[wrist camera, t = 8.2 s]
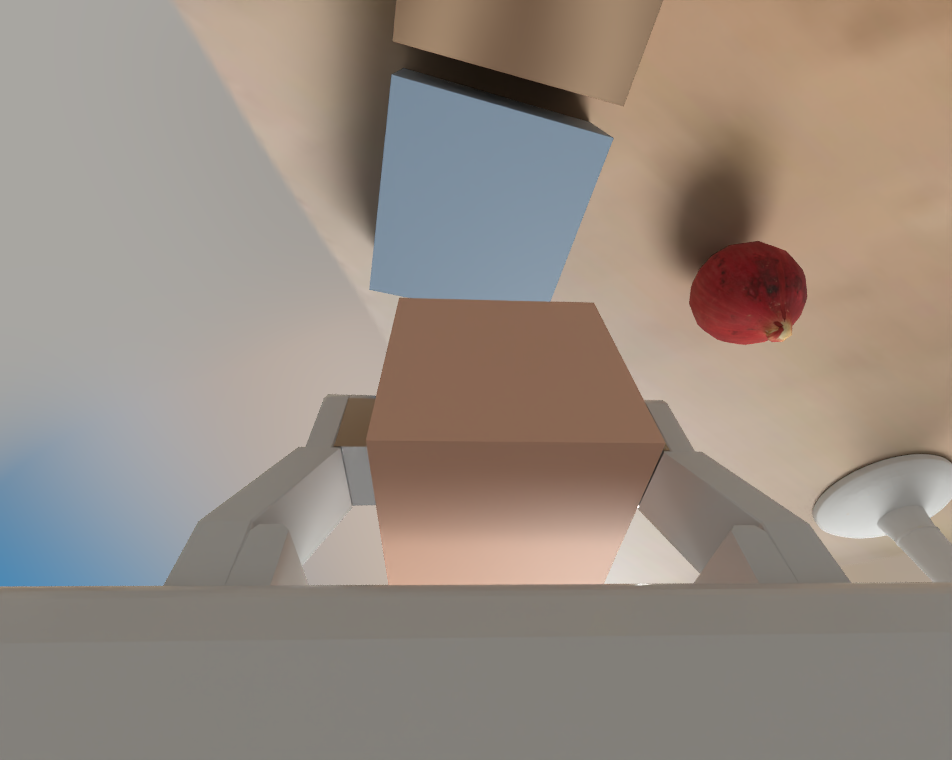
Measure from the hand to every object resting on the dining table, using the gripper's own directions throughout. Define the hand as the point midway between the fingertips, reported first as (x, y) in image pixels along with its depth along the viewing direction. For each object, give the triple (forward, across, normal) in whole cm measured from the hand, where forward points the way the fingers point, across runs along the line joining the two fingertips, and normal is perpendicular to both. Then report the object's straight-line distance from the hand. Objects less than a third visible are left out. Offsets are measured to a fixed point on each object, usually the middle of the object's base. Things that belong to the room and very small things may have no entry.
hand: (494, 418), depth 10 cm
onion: (+20, -16, +4) cm, 26 cm away
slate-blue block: (+20, 0, 0) cm, 20 cm away
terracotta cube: (+2, 0, 0) cm, 2 cm away
